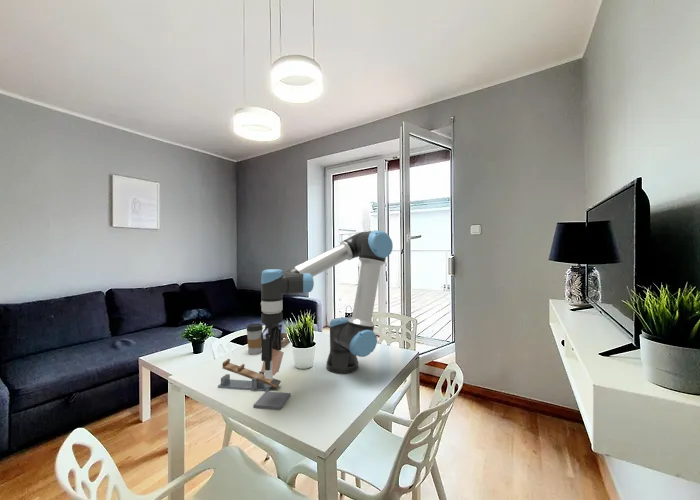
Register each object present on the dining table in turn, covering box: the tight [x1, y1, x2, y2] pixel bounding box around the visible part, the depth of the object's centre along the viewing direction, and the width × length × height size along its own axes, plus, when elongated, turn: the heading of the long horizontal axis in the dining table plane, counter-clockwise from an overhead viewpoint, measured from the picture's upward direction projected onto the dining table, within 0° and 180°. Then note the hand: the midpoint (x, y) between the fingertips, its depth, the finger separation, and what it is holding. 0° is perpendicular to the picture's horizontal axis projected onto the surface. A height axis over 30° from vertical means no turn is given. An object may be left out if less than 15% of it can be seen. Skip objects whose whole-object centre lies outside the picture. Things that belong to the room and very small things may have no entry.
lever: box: [221, 358, 282, 389], centre depth 120 cm, size 24×5×3 cm, turn 81°
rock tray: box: [269, 332, 290, 349], centre depth 175 cm, size 12×16×4 cm
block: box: [260, 349, 284, 377], centre depth 108 cm, size 5×5×7 cm
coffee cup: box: [246, 322, 264, 356], centre depth 158 cm, size 8×8×15 cm
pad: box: [253, 391, 292, 411], centre depth 108 cm, size 10×10×1 cm
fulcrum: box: [217, 370, 274, 392], centre depth 120 cm, size 22×7×5 cm, turn 81°
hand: (272, 374), depth 108 cm, fingers closed on block, 5 cm apart
